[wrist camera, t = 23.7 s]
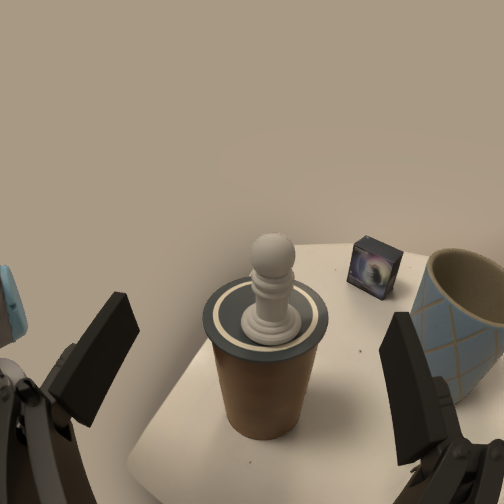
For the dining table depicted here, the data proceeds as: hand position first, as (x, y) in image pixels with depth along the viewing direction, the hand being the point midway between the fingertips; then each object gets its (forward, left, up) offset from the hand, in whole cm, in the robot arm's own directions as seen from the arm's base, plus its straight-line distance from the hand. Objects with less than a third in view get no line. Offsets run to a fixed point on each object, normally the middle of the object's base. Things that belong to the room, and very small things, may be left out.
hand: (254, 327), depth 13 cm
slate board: (+3, +10, -9) cm, 14 cm away
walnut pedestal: (+3, +10, -29) cm, 31 cm away
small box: (+34, +34, -29) cm, 56 cm away
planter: (+34, +7, -29) cm, 45 cm away
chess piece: (+3, +8, -9) cm, 12 cm away
